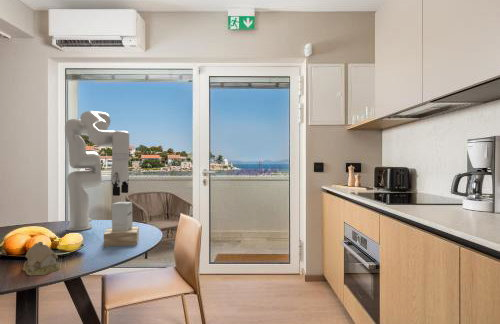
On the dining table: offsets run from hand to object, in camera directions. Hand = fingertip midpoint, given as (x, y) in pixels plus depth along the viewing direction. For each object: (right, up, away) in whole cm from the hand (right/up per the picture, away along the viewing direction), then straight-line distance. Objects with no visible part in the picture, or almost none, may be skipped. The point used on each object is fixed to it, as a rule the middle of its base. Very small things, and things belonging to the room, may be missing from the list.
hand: (120, 194), depth 165 cm
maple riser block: (+1, -23, 0) cm, 23 cm away
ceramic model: (-14, -24, -39) cm, 48 cm away
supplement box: (0, -17, +2) cm, 17 cm away
